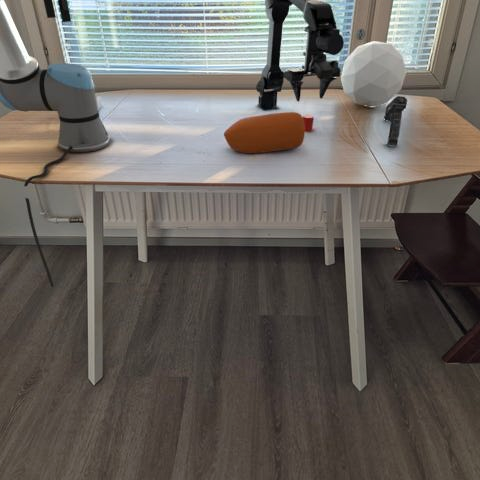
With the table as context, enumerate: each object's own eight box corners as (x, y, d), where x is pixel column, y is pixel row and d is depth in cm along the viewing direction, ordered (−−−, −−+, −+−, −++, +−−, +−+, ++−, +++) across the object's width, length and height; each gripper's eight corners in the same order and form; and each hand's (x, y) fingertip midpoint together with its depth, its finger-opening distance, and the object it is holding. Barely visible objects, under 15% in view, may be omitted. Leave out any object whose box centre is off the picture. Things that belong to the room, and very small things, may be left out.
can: (305, 127, 145) (306, 113, 142) (314, 129, 143) (315, 115, 140) (299, 129, 143) (300, 116, 140) (308, 132, 141) (309, 118, 138)
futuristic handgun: (389, 146, 153) (397, 104, 149) (399, 145, 125) (409, 94, 122) (379, 144, 154) (386, 103, 150) (386, 144, 126) (395, 93, 122)
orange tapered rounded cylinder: (228, 162, 123) (308, 151, 124) (223, 128, 117) (309, 117, 118) (224, 147, 133) (299, 137, 134) (220, 115, 127) (299, 104, 128)
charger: (106, 102, 166) (96, 114, 153) (83, 102, 165) (72, 114, 153) (104, 90, 163) (94, 101, 151) (80, 90, 163) (69, 101, 150)
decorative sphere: (326, 73, 174) (348, 26, 151) (380, 71, 178) (409, 25, 155) (338, 120, 167) (363, 79, 144) (393, 117, 171) (427, 77, 148)
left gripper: (70, -58, 122) (84, 22, 134) (40, -57, 137) (56, 15, 149) (44, -59, 117) (62, 24, 130) (17, -57, 133) (35, 16, 145)
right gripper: (303, 56, 119) (298, 109, 128) (355, 51, 125) (346, 103, 134) (284, 49, 127) (281, 100, 136) (333, 46, 134) (327, 94, 143)
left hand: (59, 19), depth 139 cm, fingers open, 13 cm apart
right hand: (309, 99), depth 137 cm, fingers open, 9 cm apart
